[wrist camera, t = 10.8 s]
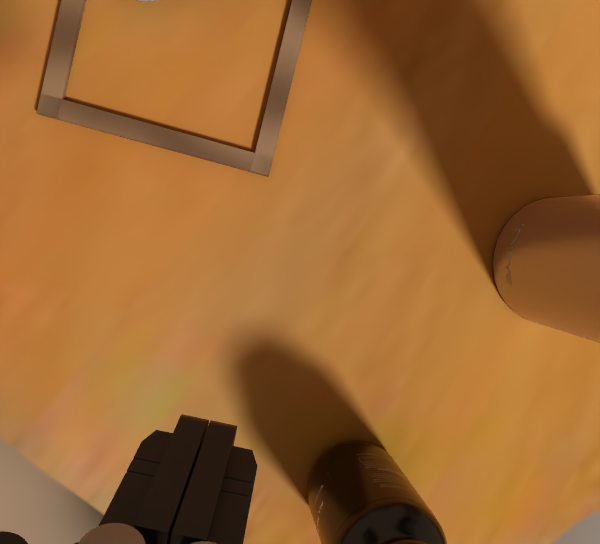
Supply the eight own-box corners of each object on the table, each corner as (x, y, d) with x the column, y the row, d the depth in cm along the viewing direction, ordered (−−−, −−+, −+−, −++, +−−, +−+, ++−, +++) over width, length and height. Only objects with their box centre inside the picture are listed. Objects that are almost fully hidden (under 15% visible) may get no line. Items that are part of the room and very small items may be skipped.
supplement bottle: (285, 479, 36) (319, 603, 24) (362, 418, 37) (432, 512, 25) (341, 548, 37) (399, 699, 25) (415, 488, 38) (505, 609, 26)
